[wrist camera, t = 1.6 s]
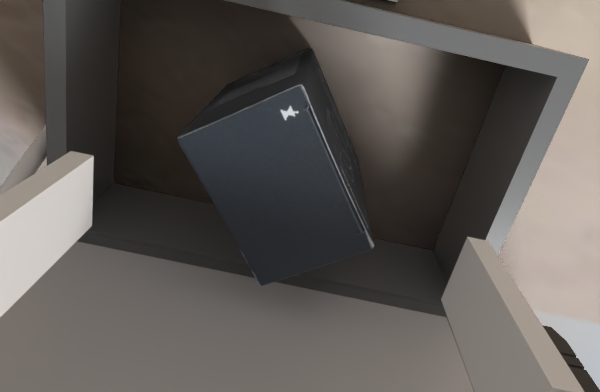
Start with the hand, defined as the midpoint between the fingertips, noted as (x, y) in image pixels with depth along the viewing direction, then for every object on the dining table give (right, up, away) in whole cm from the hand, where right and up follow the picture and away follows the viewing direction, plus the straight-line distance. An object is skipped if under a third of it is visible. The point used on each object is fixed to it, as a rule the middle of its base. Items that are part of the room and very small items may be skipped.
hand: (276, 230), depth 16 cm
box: (+1, +6, +12) cm, 14 cm away
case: (+1, +6, +12) cm, 13 cm away
